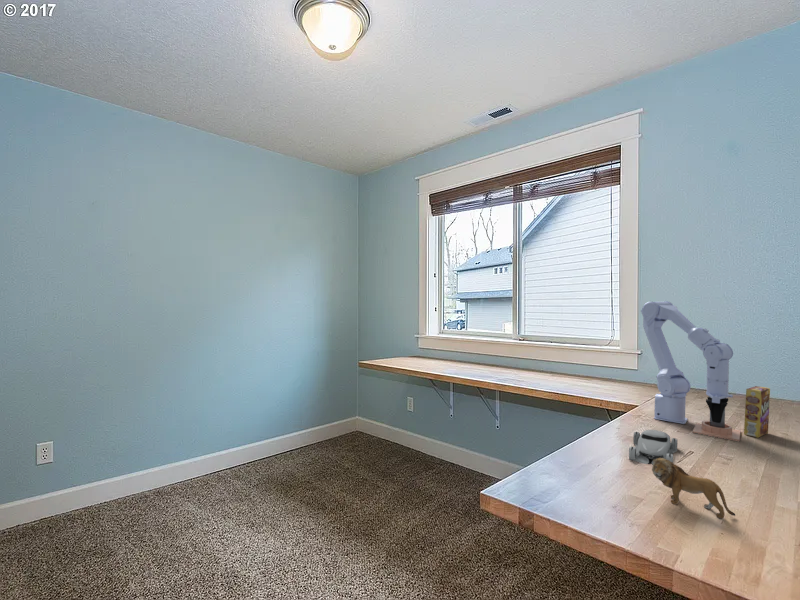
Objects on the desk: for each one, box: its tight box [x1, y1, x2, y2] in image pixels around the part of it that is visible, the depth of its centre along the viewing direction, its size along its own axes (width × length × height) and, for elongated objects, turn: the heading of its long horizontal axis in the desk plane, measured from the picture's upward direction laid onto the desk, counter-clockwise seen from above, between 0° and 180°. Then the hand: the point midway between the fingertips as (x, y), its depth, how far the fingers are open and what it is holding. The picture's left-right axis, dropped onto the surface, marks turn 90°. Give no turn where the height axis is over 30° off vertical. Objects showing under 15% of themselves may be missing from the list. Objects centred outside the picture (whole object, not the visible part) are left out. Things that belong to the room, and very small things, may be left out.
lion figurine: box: [651, 458, 736, 519], centre depth 89 cm, size 15×5×9 cm, turn 52°
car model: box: [628, 429, 678, 466], centre depth 120 cm, size 11×24×5 cm, turn 144°
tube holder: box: [692, 420, 741, 442], centre depth 138 cm, size 12×12×3 cm
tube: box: [709, 408, 726, 428], centre depth 138 cm, size 4×4×7 cm
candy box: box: [743, 385, 771, 439], centre depth 137 cm, size 9×4×15 cm, turn 123°
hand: (716, 420), depth 138 cm, fingers closed on tube, 4 cm apart
